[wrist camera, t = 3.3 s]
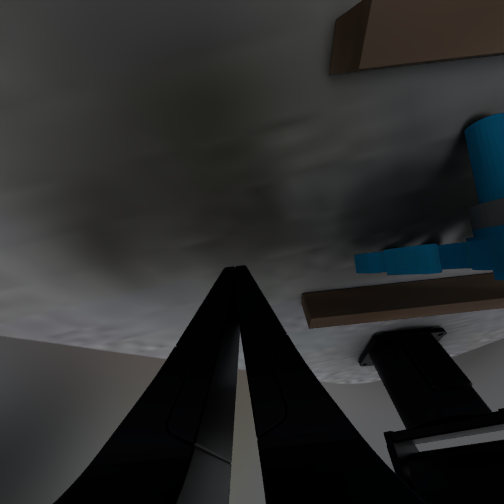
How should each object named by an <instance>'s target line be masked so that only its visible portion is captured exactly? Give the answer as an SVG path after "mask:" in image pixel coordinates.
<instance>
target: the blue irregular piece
mask: <svg viewBox="0 0 504 504" xmlns="http://www.w3.org/2000/svg"><path fill="white" fill-rule="evenodd" d="M464 133H465V138H466V143H467V148H468V153H469V157H470V162H471V167H472V172H473V177H474V181H475V186H476V191H477V196H478V201H479V204H478V205H475V206H472V207H470V208H468V211H469V216H470V221H471V226H472V230H473V235H474V237H473V238H467V239H466V240H467V242H461V243H453V244H445V245H437V244H426V245H417V246H409V247H401V248H394V249H386V250H384V252H372V253H364V254H357V255H354V259H355V266H356V273H381V272H387V275H406V274H433V273H441V272H442V269H459V268H472V269H473V270H493V273H494V277H495V280H504V113H499V114H494V115H491V116H488V117H486V118H483V119H481V120H479V121H477V122H475V123H473V124H472V125H470V126H469V127H467V128H466V129H465V131H464Z"/></svg>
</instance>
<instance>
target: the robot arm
mask: <svg viewBox="0 0 504 504" xmlns="http://www.w3.org/2000/svg"><path fill="white" fill-rule="evenodd" d="M240 333H241V339H242V346H243V352H244V359H245V365H246V372H247V378H248V384H249V391H250V397H251V404H252V410H253V417H254V423H255V430H256V436H257V439H258V440H257V443H258V449H259V456H260V463H261V469H262V477H263V485H264V492H265V500H266V504H504V440H498V441H491V442H485V443H477V444H471V445H463V446H457V447H450V448H443V449H437V450H430V451H422V452H419V451H418V449H417V448H416V446H415V444H420V443H427V442H433V441H439V440H445V439H451V438H457V437H463V436H470V435H476V434H482V433H488V432H494V431H500V430H504V408H502V409H498V410H499V411H497V412H492V411H491V410H490V408H489V407H488V406H487V405H486V403H485V402H484V401H483V400H482V398H481V397H480V396H479V395H478V393H477V392H476V391H475V390H474V388H473V387H472V383H471V381H470V380H469V379H468V378H467V376H466V375H465V374H464V373H463V372H462V370H461V369H460V368H459V367H458V365H457V364H456V363H455V362H454V360H453V359H452V358H451V357H450V355H449V354H448V353H447V352H446V351H445V349H444V348H443V347H442V346H441V344H440V343H439V342H438V341H439V340H440V339H441V338H442V337H443V336H444V335H446V333H447V332H446V331H445V330H444V329H443V328H432V329H423V330H413V331H404V332H395V333H385V334H378V335H376V336H374V337H373V339H372V341H371V342H370V344H369V345H368V347H367V348H366V350H365V352H364V353H363V355H362V356H361V358H360V360H359V361H358V362H359V364H360V366H371V365H374V366H375V368H376V370H377V372H378V374H379V376H380V378H381V380H382V382H383V384H384V386H385V388H386V390H387V392H388V394H389V396H390V398H391V400H392V402H393V404H394V405H395V408H396V410H397V412H398V413H399V415H400V417H401V420H402V421H403V424H404V425H405V427H406V430H401V431H396V432H393V431H388V432H384V437H385V440H386V443H387V449H388V452H389V455H390V458H391V461H392V464H393V467H394V470H395V473H394V472H393V471H392V470H391V469H390V468H389V467H388V466H387V465H386V464H385V463H384V462H383V460H382V459H381V458H380V457H379V456H378V455H377V454H376V452H375V451H374V450H373V449H372V448H371V447H370V446H369V444H368V443H367V442H366V441H365V440H364V438H363V437H362V436H361V435H360V434H359V432H358V431H357V430H356V429H355V427H354V426H353V425H352V423H351V422H350V421H349V419H348V418H347V417H346V416H345V414H344V413H343V412H342V410H341V409H340V408H339V407H338V405H337V404H336V403H335V402H334V400H333V399H332V397H331V396H330V395H329V394H328V392H327V391H326V390H325V388H324V387H323V386H322V385H321V383H320V382H319V381H318V379H317V378H316V376H315V375H314V374H313V372H312V371H311V370H310V368H309V367H308V365H307V364H306V363H305V361H304V360H303V358H302V357H301V355H300V354H299V352H298V351H297V349H296V347H295V346H294V344H293V343H292V341H291V339H290V338H289V336H288V335H287V333H286V331H285V330H284V328H283V326H282V325H281V323H280V321H279V320H278V318H277V316H276V315H275V313H274V311H273V310H272V308H271V306H270V305H269V303H268V301H267V300H266V298H265V296H264V295H263V293H262V291H261V290H260V288H259V286H258V285H257V283H256V282H255V280H254V278H253V277H252V275H251V273H250V272H249V270H248V268H247V267H246V266H245V265H242V266H236V267H234V266H233V267H225V268H224V269H223V271H222V272H221V274H220V276H219V277H218V279H217V280H216V282H215V284H214V285H213V287H212V288H211V290H210V292H209V293H208V295H207V296H206V298H205V300H204V301H203V303H202V304H201V306H200V307H199V309H198V311H197V312H196V314H195V315H194V317H193V319H192V320H191V322H190V323H189V325H188V327H187V328H186V330H185V331H184V333H183V335H182V336H181V338H180V339H179V341H178V342H177V344H176V346H177V347H174V349H173V350H172V352H171V353H170V355H169V357H168V358H167V360H166V361H165V363H164V364H163V366H162V367H161V369H160V371H159V372H158V373H157V375H156V376H155V378H154V379H153V381H152V382H151V383H150V385H149V386H148V387H147V389H146V390H145V392H144V393H143V394H142V396H141V397H140V398H139V400H138V401H137V402H136V404H135V405H134V406H133V408H132V409H131V410H130V412H129V413H128V414H127V416H126V417H125V419H124V420H123V421H122V422H121V424H120V425H119V426H118V428H117V429H116V430H115V432H114V433H113V434H112V436H111V437H110V438H109V440H108V441H107V442H106V444H105V445H104V446H103V448H102V449H101V450H100V452H99V453H98V454H97V455H96V457H95V458H94V460H93V461H92V462H91V463H90V464H89V466H88V467H87V468H86V469H85V470H84V472H83V473H82V474H81V475H80V476H79V477H78V478H77V480H76V481H75V482H74V483H73V484H72V485H71V486H70V487H69V488H68V489H67V490H66V491H65V492H64V493H63V494H62V495H61V496H60V498H58V500H56V501H55V502H54V503H53V504H229V493H230V478H231V477H230V476H231V461H232V446H233V431H234V414H235V400H236V384H237V369H238V353H239V338H240Z"/></svg>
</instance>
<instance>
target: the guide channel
mask: <svg viewBox="0 0 504 504" xmlns="http://www.w3.org/2000/svg"><path fill="white" fill-rule="evenodd" d="M497 55H504V0H362V1H361V2H360V3H358V4H357V5H355V6H354V7H353V8H351V9H350V10H349V11H347V12H346V13H344V14H343V15H342V16H340V17H339V18H338V19H336V25H335V33H334V41H333V50H332V58H331V66H330V74H329V75H331V74H340V73H349V72H358V71H366V70H375V69H384V68H392V67H401V66H410V65H418V64H427V63H436V62H444V61H453V60H462V59H471V58H479V57H488V56H497ZM301 304H302V307H303V310H304V314H305V317H306V320H307V323H308V327H309V329H312V328H321V327H330V326H340V325H349V324H358V323H368V322H377V321H386V320H396V319H405V318H414V317H424V316H433V315H442V314H452V313H461V312H471V311H480V310H489V309H499V308H504V280H495V277H494V273H488V274H479V275H469V276H460V277H451V278H442V279H432V280H423V281H414V282H405V283H395V284H386V285H377V286H368V287H358V288H349V289H340V290H331V291H321V292H312V293H303V295H302V303H301Z"/></svg>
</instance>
